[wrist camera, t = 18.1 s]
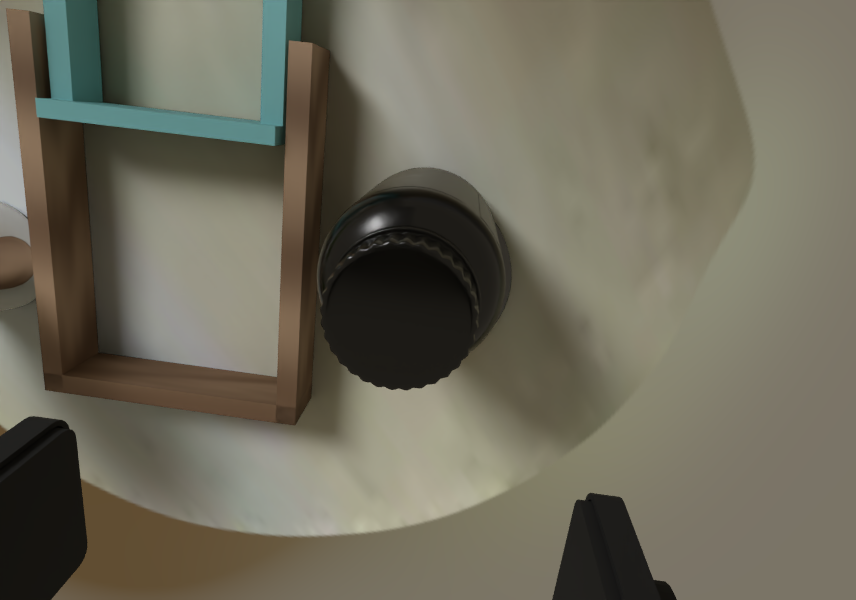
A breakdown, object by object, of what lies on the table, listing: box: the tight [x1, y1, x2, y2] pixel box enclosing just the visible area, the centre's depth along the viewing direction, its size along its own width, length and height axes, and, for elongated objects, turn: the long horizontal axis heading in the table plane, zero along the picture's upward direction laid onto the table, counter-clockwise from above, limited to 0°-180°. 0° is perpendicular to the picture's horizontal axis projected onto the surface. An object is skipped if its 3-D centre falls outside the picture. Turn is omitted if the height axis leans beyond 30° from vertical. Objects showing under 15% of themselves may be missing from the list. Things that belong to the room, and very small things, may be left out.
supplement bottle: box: [317, 167, 505, 390], centre depth 23 cm, size 7×7×12 cm
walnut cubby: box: [6, 8, 330, 425], centre depth 28 cm, size 18×13×3 cm
